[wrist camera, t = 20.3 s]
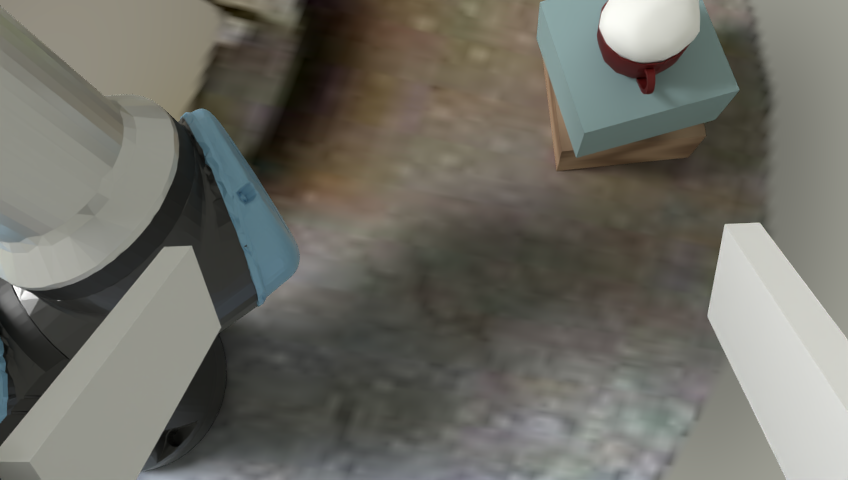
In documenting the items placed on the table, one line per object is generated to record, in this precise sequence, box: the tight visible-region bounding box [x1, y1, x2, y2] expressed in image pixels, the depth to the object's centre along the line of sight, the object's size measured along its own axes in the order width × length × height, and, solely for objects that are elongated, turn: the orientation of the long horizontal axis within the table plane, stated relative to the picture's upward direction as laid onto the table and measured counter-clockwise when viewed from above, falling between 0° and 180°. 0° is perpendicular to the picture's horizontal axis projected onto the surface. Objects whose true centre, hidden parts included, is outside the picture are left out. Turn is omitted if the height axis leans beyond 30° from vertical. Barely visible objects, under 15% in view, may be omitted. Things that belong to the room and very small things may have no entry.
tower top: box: [537, 0, 739, 158], centre depth 46 cm, size 11×11×5 cm
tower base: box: [543, 59, 706, 171], centre depth 51 cm, size 11×11×5 cm
